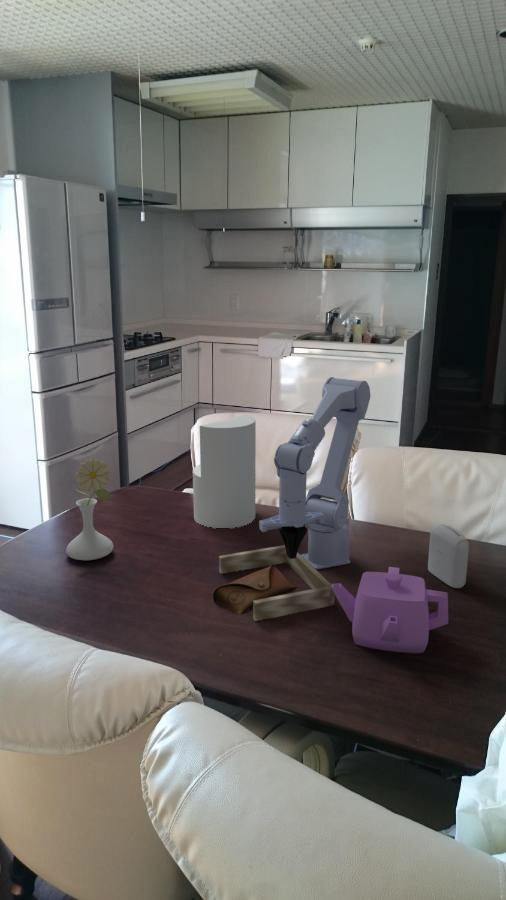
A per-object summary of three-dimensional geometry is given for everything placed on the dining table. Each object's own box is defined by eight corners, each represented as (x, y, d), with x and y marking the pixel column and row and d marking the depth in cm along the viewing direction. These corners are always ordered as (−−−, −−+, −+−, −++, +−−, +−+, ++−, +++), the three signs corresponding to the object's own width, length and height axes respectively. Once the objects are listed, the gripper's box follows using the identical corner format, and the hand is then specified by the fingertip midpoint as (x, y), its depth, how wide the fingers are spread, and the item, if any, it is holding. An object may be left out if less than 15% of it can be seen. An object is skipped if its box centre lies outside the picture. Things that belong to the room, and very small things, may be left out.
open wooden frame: (289, 559, 155) (289, 544, 154) (334, 605, 135) (334, 587, 133) (219, 571, 149) (219, 555, 148) (255, 621, 128) (255, 603, 127)
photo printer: (424, 570, 150) (428, 520, 146) (440, 567, 151) (444, 518, 148) (451, 590, 141) (457, 538, 137) (468, 587, 142) (473, 535, 139)
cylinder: (268, 516, 182) (268, 419, 174) (223, 534, 170) (222, 431, 162) (225, 501, 193) (224, 410, 185) (181, 517, 181) (178, 420, 173)
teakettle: (453, 641, 122) (459, 582, 118) (388, 671, 113) (392, 608, 110) (389, 603, 136) (393, 549, 132) (326, 626, 127) (328, 569, 123)
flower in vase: (56, 560, 155) (47, 461, 148) (85, 542, 165) (77, 448, 158) (102, 569, 150) (94, 467, 143) (128, 550, 160) (123, 454, 153)
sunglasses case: (239, 616, 130) (228, 584, 131) (220, 620, 135) (209, 590, 136) (299, 586, 142) (288, 557, 143) (279, 591, 147) (269, 563, 148)
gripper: (268, 509, 131) (267, 569, 135) (331, 500, 136) (329, 558, 140) (255, 497, 138) (255, 555, 141) (316, 489, 143) (314, 546, 146)
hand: (291, 556), depth 141 cm, fingers closed
